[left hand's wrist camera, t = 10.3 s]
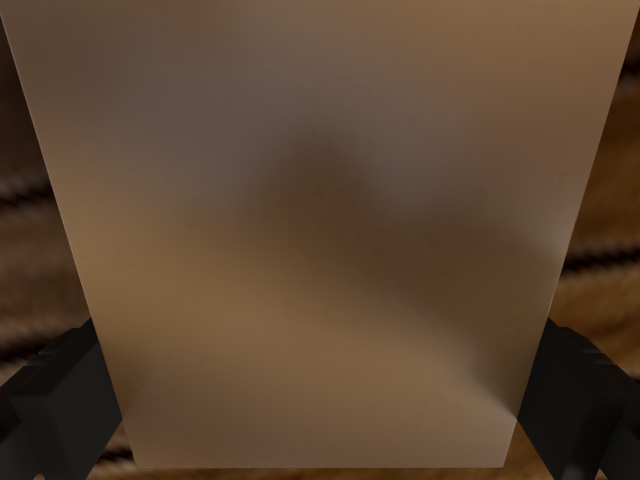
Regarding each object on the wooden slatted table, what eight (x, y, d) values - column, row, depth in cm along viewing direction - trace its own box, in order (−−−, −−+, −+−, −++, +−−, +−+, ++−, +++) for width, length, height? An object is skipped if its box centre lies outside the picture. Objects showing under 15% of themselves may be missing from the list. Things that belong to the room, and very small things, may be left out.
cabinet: (139, -257, 11) (-412, -1333, 3) (497, -258, 11) (1040, -1329, 3) (216, 305, 18) (136, 469, 10) (423, 305, 18) (503, 468, 10)
